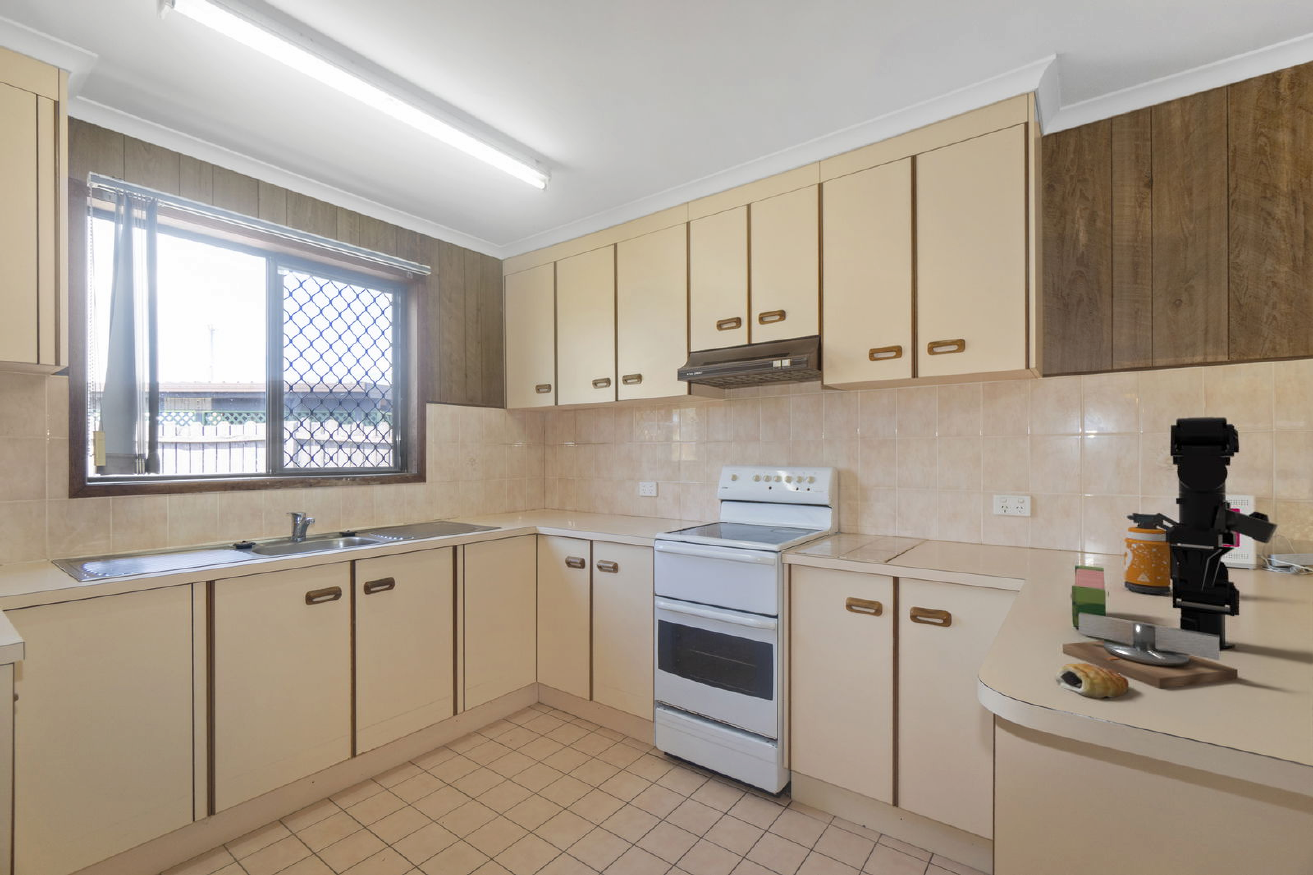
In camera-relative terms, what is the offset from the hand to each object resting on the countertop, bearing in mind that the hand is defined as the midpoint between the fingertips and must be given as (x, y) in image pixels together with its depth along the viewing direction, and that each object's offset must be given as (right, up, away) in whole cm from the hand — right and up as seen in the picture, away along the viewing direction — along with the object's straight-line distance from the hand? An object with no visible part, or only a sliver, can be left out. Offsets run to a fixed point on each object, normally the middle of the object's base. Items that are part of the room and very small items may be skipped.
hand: (1202, 589), depth 97 cm
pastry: (-24, -13, -8) cm, 29 cm away
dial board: (-8, -13, +2) cm, 15 cm away
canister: (+36, -15, +53) cm, 66 cm away
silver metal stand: (-8, -11, +2) cm, 14 cm away
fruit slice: (-1, -14, +24) cm, 28 cm away
